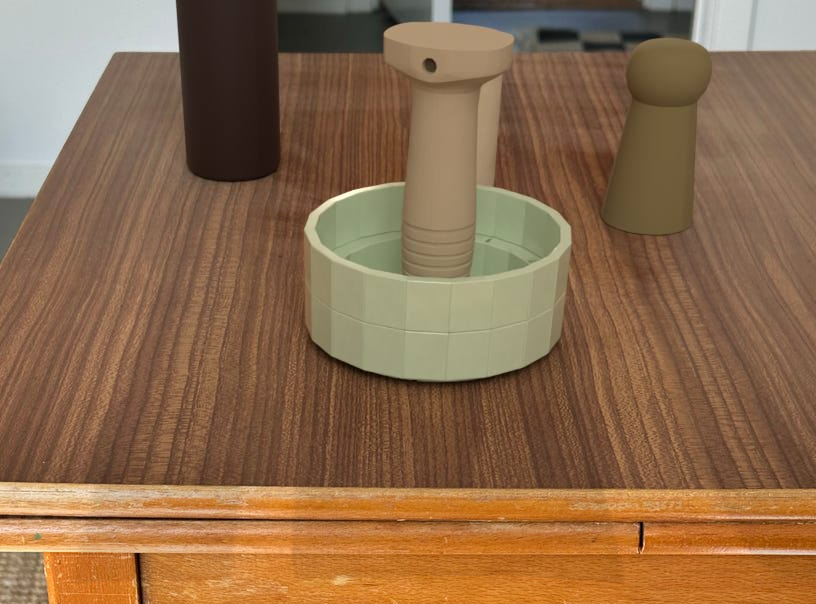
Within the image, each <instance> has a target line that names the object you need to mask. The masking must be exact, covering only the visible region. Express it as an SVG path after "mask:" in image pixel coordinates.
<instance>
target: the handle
mask: <svg viewBox="0 0 816 604" xmlns="http://www.w3.org/2000/svg"><path fill="white" fill-rule="evenodd" d="M514 47H515V37H514V35H512V33H508V32H505V31H501V30H499V29H494V28H491V27H486V26H481V25H474V24H465V23H459V22H448V21H447V22H446V21H408V22H402V23H400V24H395V25H393V26H389V28H387V29H386V30H385V31H384V32H383V46H382V48H383V52H382V53H383V60H384V62H385V64H386V65H388V66H389V67H391V68H392V69H393V70H394V71H396V72H397V73H399V74H400V75H402V76H403V77H404V78H405V79H407V81H408V83H410V85H411V87H410V88H411V115H410V117H411V118H410V127H409V138H408V139H409V140H408V151H407V160H406V161H407V162H406V171H405V172H406V173H405V181H404V182H405V190H404V200H403V210H402V225H401V230H402V231H401V253H402V254H401V262H402V275H405V276H414V277H432V278H463V277H470V272H471V266H472V260H473V253H474V244H475V231H476V184H477V124H478V103H479V97H480V90H481V86H482V85H483V84H485V83H487V82H488V81H491V80H493V79H495V78H497V77H498V76H500V75H501V74H503V75H504V73H505V72H507V71H508V70H509V69H510V68H511V66H512V63H513V58H514V51H515V50H514Z"/></svg>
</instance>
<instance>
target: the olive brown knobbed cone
mask: <svg viewBox="0 0 816 604" xmlns="http://www.w3.org/2000/svg"><path fill="white" fill-rule="evenodd" d="M625 69H626V70H625V78H626V79H625V80H626V87H627V90H628V92H629V93H630V95H631V97H630V101H629V105H628V109H627V114H626V117H625V120H624V123H623V128H622V131H621V135H620V139H619V142H618V146H617V149H616V153H615V158H614V161H613V165H612V169H611V173H610V176H609V179H608V183H607V187H606V191H605V195H604V199H603V203H602V206H601V210H600V219H602V221H603V222H604V223H605V224H607V225H608V226H610V227H612V228H614V229H617V230H620V231H623V232H627V233H632V234H638V235H647V236H649V235H651V236H660V235H661V236H662V235H672V234H676V233H681V232H683V231H685V230H686V229H688V228H690V227H691V225H692V224H693V220H694V195H695V193H694V192H695V174H696V173H695V171H696V148H697V147H696V145H697V122H698V100H699V99H700V98H701V97H702V96H703V95H704V94H705V92H706V91H707V89H708V86H709V85H710V82H711V79H712V73H713V62H712V59H711V56H710V54H709V51H708V49H707V48H706V47H704V45H701V44H700V43H698V42H695V41H692V40H689V39H684V38H677V37H660V38H659V37H658V38H651V39H647V40H645V41H643V42H641V43H639V44H638V45H637V46H636V47H635V48H634V49H633V50H632V52H631V53H630V55H629V57H628V60H627V62H626V68H625Z"/></svg>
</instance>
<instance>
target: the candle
mask: <svg viewBox="0 0 816 604" xmlns="http://www.w3.org/2000/svg"><path fill="white" fill-rule="evenodd" d="M503 76H504V73H503V74H501V75H500V76H498V77H497V78H495V79H493V80H491V81H488V82H487V83H485V84H483V85H482V86H481V90H480V97H479V103H478V124H477V184H478V185H484V186H490V187H495V178H496V177H495V176H496V165H497V162H496V161H497V151H498V138H499V128H500V127H499V126H500V113H501V100H502V90H503V89H502V88H503Z"/></svg>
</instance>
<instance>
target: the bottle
mask: <svg viewBox="0 0 816 604" xmlns="http://www.w3.org/2000/svg"><path fill="white" fill-rule="evenodd" d="M175 10H176V27H177V39H178V40H177V43H178V56H179V70H180V71H179V73H180V84H181V99H182V100H181V101H182V115H183V116H182V117H183V129H184V144H185V145H184V146H185V159H186V165H187V168H188V170H190V171H191V172H192V173H194V174H195V175H197V176H200V177H202V178H204V179H207V180H208V179H209V180H213V181H221V182H222V181H223V182H242V181H249V180H250V181H251V180H255V179H260V178H263V177H266V176H269V175H270V174H272V173H273V172H275V171H276V170H277V169H278V168H279V166H280V164H281V162H282V161H281V160H282V157H281V154H282V153H281V114H280V108H281V107H280V68H279V66H280V65H279V26H278V25H279V24H278V23H279V22H278V20H279V19H278V0H175Z"/></svg>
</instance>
